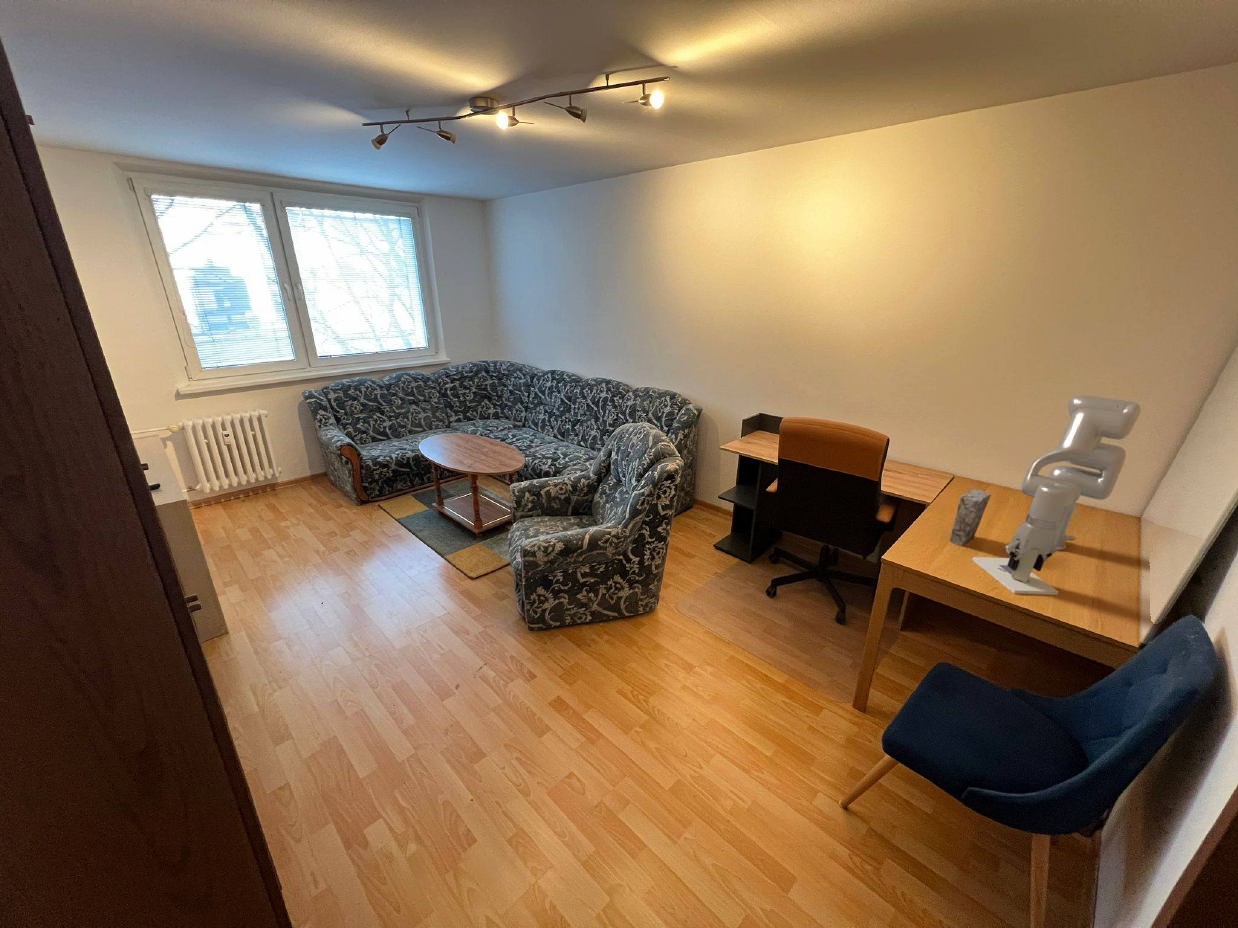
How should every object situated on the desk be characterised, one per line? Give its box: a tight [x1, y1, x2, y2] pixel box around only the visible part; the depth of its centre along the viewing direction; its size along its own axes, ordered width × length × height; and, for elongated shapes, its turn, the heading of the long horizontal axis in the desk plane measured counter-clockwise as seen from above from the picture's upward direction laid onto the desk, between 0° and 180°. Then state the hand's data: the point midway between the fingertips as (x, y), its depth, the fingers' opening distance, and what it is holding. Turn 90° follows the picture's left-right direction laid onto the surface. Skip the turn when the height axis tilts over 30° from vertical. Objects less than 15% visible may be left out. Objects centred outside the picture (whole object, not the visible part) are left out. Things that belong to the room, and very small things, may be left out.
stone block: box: [949, 488, 991, 547], centre depth 183 cm, size 13×7×20 cm, turn 132°
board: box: [972, 556, 1059, 596], centre depth 163 cm, size 14×20×1 cm
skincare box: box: [1011, 549, 1040, 582], centre depth 158 cm, size 6×4×12 cm
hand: (1023, 568), depth 159 cm, fingers closed on skincare box, 7 cm apart
